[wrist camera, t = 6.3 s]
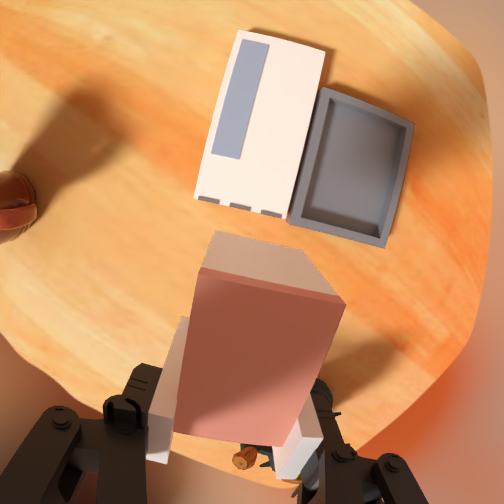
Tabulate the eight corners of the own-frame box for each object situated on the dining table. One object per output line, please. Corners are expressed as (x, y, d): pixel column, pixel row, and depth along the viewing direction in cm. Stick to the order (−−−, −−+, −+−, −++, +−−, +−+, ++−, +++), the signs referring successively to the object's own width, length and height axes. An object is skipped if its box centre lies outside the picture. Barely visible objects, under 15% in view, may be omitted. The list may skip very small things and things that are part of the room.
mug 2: (349, 385, 33) (381, 453, 22) (305, 436, 35) (321, 503, 24) (253, 353, 31) (260, 433, 20) (216, 412, 33) (211, 488, 22)
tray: (317, 91, 24) (323, 86, 23) (405, 125, 25) (414, 123, 24) (286, 221, 27) (289, 224, 26) (376, 244, 28) (384, 248, 27)
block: (214, 230, 13) (198, 274, 7) (301, 250, 14) (346, 304, 8) (191, 344, 15) (172, 431, 9) (267, 359, 15) (282, 446, 9)
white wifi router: (238, 36, 23) (238, 29, 21) (321, 57, 24) (325, 51, 22) (195, 196, 27) (193, 198, 25) (282, 216, 27) (285, 219, 26)
